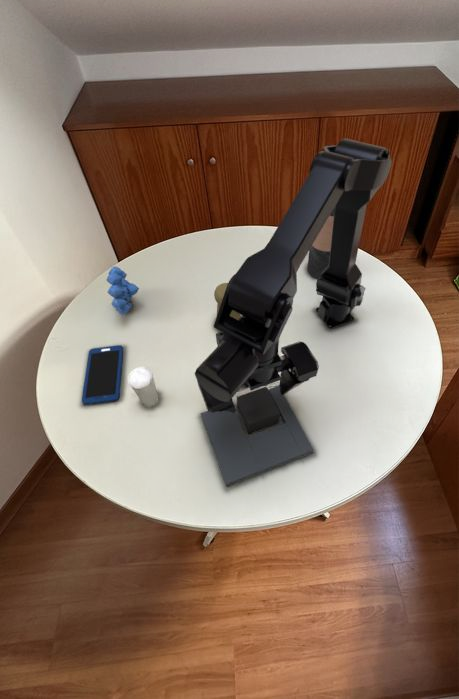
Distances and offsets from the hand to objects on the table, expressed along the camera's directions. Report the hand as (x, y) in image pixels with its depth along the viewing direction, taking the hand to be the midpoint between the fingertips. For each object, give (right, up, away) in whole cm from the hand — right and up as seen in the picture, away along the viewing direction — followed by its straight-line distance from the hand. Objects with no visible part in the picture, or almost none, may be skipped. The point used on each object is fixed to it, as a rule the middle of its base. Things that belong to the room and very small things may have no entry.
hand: (257, 401), depth 65 cm
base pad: (0, -6, +2) cm, 7 cm away
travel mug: (+18, +29, +29) cm, 45 cm away
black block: (0, -3, +4) cm, 6 cm away
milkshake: (-20, -1, +8) cm, 22 cm away
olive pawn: (-5, +15, +19) cm, 25 cm away
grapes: (-29, +19, +24) cm, 42 cm away
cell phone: (-31, +4, +12) cm, 34 cm away
